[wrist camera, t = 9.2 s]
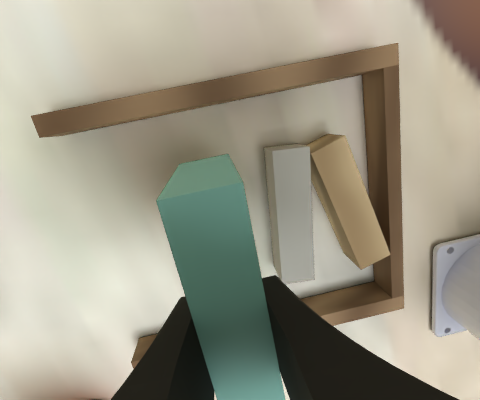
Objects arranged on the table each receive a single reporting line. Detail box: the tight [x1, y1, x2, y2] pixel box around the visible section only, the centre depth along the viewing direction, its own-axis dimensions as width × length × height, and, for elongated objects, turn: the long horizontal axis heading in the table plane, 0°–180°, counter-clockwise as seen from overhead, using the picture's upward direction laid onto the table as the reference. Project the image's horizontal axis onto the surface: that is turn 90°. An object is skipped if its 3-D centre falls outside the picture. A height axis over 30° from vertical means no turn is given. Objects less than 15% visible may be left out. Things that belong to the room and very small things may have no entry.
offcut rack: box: [31, 43, 404, 368], centre depth 16 cm, size 18×16×2 cm
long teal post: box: [156, 154, 285, 400], centre depth 10 cm, size 2×10×5 cm, turn 10°
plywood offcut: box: [306, 134, 390, 270], centre depth 16 cm, size 2×8×2 cm, turn 27°
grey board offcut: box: [264, 144, 315, 284], centre depth 16 cm, size 2×8×2 cm, turn 6°
